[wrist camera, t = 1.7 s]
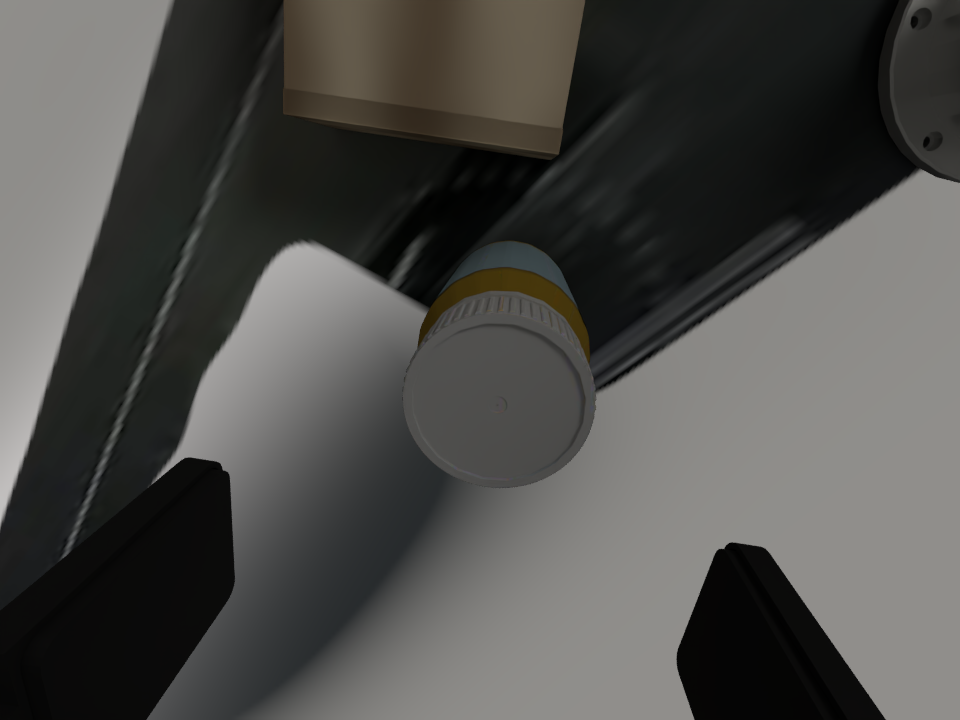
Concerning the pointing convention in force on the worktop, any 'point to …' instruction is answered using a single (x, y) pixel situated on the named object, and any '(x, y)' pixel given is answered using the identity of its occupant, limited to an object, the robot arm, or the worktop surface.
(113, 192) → the worktop surface
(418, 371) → the bottle
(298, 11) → the chopping block
